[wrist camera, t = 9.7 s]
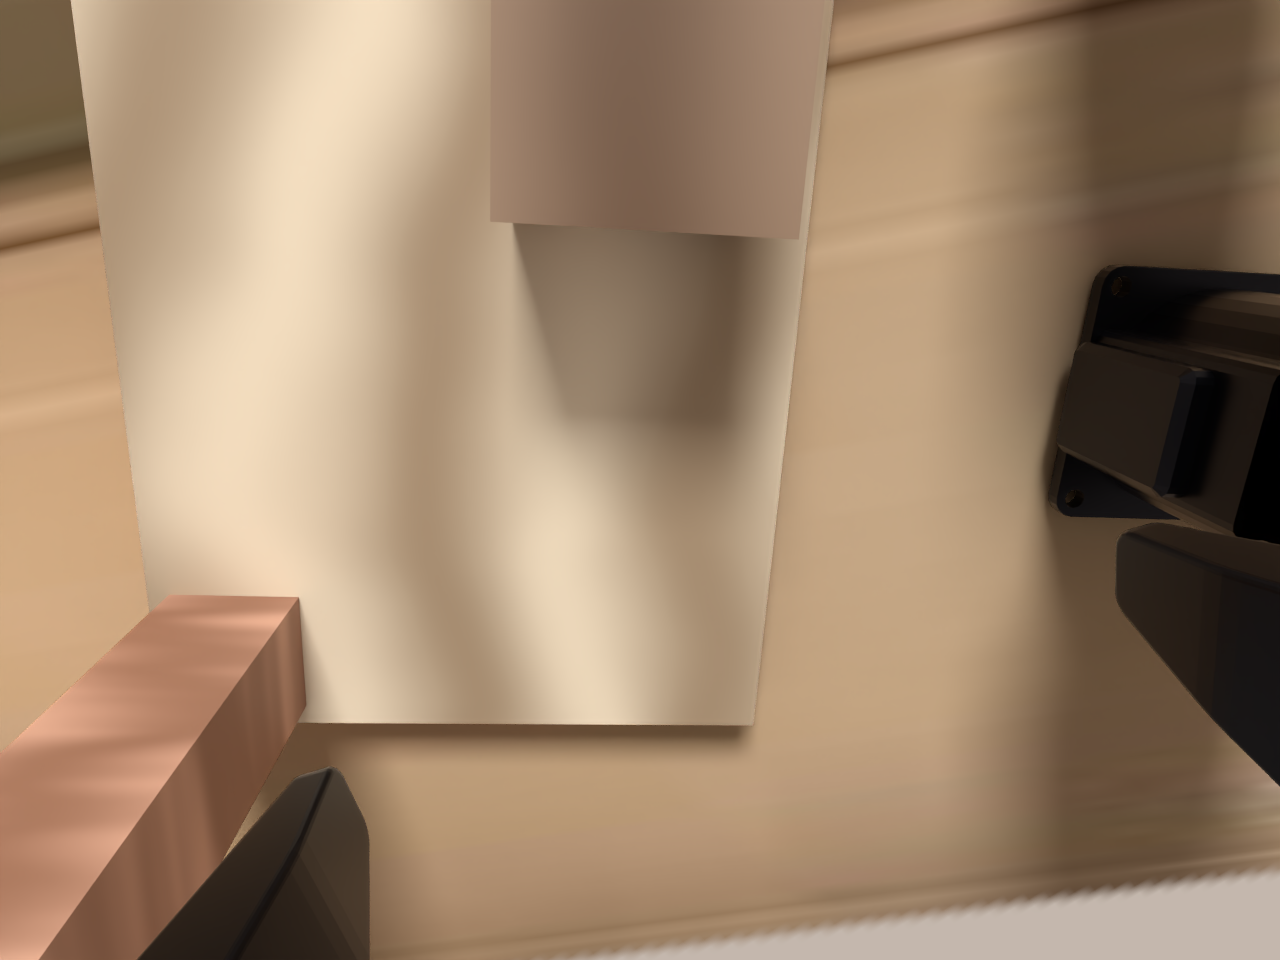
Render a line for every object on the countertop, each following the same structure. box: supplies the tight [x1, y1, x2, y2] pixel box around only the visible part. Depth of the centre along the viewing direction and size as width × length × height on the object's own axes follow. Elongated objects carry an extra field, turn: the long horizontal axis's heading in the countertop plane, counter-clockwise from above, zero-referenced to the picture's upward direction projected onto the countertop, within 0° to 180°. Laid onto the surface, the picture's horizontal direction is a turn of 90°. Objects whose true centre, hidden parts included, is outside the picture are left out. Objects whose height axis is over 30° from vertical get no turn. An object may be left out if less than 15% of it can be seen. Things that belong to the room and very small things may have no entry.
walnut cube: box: [490, 0, 825, 240], centre depth 15 cm, size 5×5×5 cm
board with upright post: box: [0, 0, 834, 960], centre depth 14 cm, size 15×19×13 cm
